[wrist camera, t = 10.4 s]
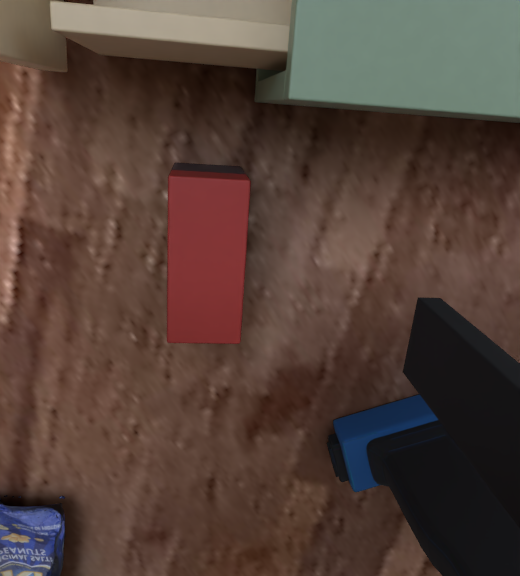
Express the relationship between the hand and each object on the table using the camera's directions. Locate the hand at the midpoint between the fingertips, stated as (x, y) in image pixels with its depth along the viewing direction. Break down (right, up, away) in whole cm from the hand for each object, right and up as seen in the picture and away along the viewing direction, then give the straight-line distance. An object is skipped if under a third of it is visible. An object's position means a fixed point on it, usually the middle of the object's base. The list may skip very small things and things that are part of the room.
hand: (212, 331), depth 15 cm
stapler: (-1, +4, +11) cm, 12 cm away
